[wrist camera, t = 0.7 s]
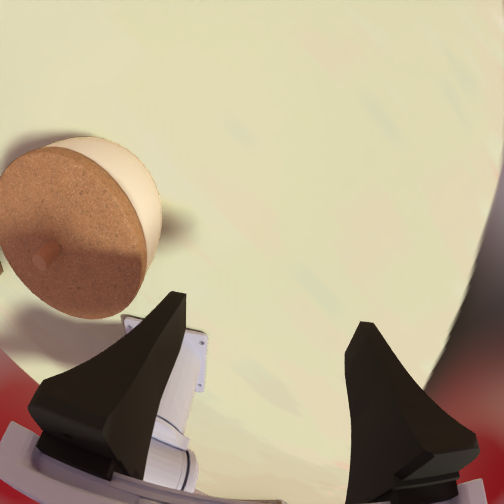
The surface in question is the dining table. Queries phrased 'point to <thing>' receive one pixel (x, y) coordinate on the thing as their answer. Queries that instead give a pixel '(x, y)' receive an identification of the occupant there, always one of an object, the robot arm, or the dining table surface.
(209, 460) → the dining table surface
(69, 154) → the lidded jar
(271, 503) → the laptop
